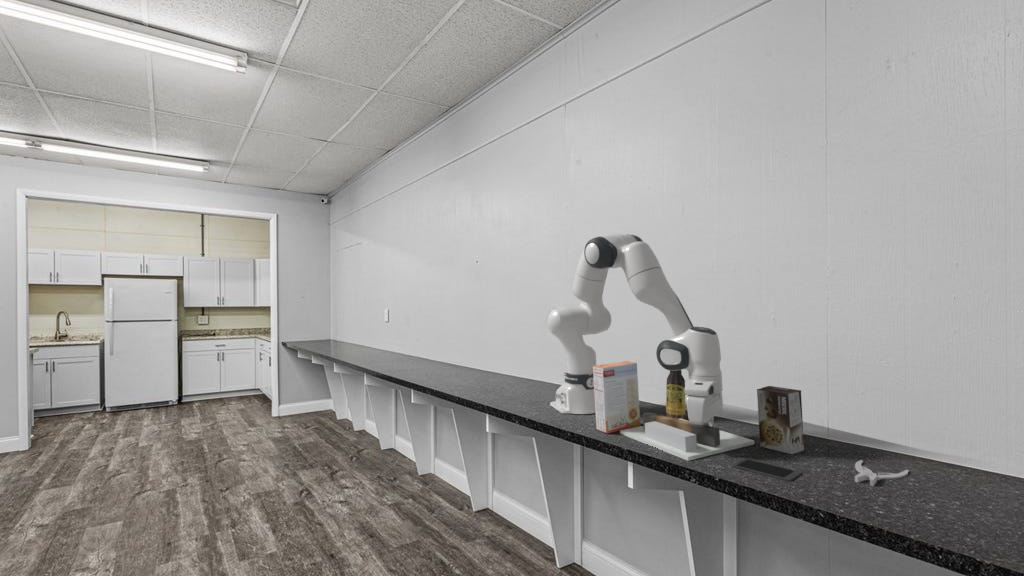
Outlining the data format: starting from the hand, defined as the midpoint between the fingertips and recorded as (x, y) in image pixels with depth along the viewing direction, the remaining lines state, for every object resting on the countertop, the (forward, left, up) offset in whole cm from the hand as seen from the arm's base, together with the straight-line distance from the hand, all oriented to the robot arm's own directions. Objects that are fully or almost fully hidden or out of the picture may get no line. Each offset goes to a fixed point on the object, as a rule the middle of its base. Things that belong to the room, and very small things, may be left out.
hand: (707, 432), depth 138 cm
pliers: (+35, +14, -4) cm, 38 cm away
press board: (-7, -2, -3) cm, 8 cm away
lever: (-6, -5, -2) cm, 8 cm away
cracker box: (-26, -12, -3) cm, 29 cm away
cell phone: (+21, -4, -4) cm, 22 cm away
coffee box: (+13, +13, -3) cm, 19 cm away
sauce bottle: (-25, +12, -3) cm, 28 cm away
